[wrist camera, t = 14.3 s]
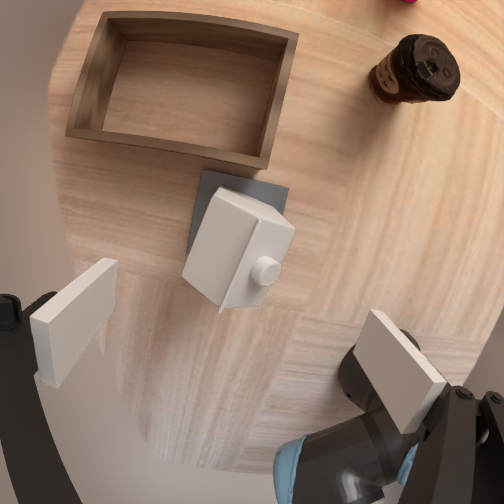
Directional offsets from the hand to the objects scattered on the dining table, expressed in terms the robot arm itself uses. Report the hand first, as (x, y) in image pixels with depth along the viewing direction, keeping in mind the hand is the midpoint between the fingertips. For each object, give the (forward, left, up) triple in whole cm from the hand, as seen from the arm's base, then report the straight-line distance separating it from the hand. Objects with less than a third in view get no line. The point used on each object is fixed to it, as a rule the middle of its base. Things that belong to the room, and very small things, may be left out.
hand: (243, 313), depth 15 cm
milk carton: (0, 0, -25) cm, 25 cm away
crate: (+15, +10, -26) cm, 32 cm away
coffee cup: (+24, -16, -26) cm, 39 cm away
